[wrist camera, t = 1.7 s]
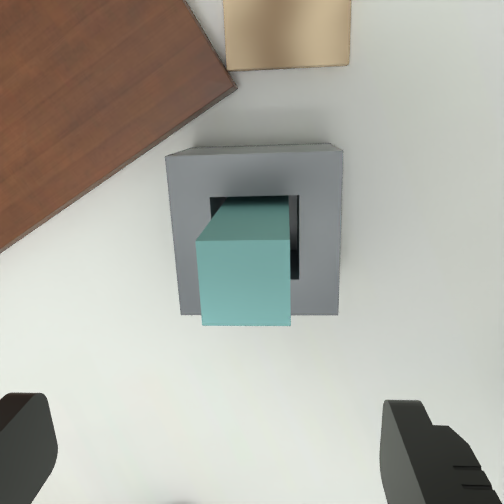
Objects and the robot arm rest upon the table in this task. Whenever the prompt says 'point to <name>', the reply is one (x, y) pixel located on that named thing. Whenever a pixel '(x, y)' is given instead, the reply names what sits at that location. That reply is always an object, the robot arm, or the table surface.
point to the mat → (286, 34)
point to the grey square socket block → (263, 184)
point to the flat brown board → (92, 95)
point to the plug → (246, 263)
